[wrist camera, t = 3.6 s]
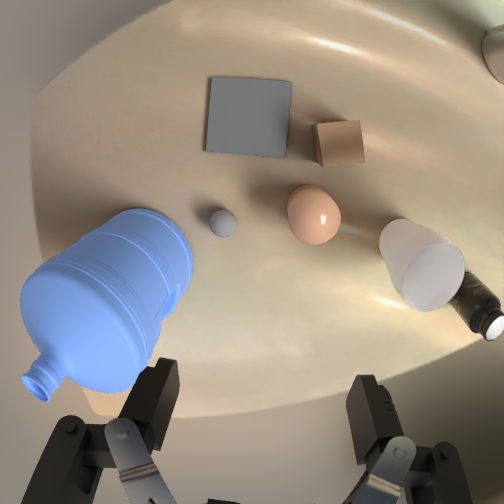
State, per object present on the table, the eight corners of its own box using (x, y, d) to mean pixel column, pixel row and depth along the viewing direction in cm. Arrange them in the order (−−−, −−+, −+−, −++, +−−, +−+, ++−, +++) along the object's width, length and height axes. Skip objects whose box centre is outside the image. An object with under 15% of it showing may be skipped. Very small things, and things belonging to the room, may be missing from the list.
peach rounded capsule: (289, 181, 37) (292, 190, 32) (334, 187, 37) (344, 197, 31) (284, 225, 40) (285, 241, 34) (327, 230, 39) (335, 247, 34)
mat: (213, 77, 32) (212, 77, 32) (291, 83, 32) (292, 82, 31) (207, 151, 36) (206, 151, 36) (284, 158, 36) (284, 158, 35)
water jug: (89, 225, 42) (-41, 321, 16) (170, 191, 39) (24, 297, 13) (129, 307, 47) (45, 433, 22) (210, 288, 44) (148, 453, 19)
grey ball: (212, 205, 39) (207, 212, 36) (239, 207, 39) (235, 215, 36) (211, 230, 41) (206, 239, 37) (237, 233, 40) (234, 242, 37)
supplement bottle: (440, 301, 42) (472, 344, 31) (459, 266, 39) (497, 304, 28) (463, 309, 42) (495, 348, 31) (481, 277, 40) (518, 313, 29)
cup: (364, 221, 38) (394, 257, 27) (419, 202, 36) (463, 230, 25) (377, 276, 41) (404, 323, 30) (428, 256, 39) (466, 296, 28)
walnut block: (311, 124, 34) (316, 123, 29) (349, 121, 33) (359, 120, 29) (317, 162, 36) (323, 167, 31) (354, 158, 35) (365, 163, 31)
